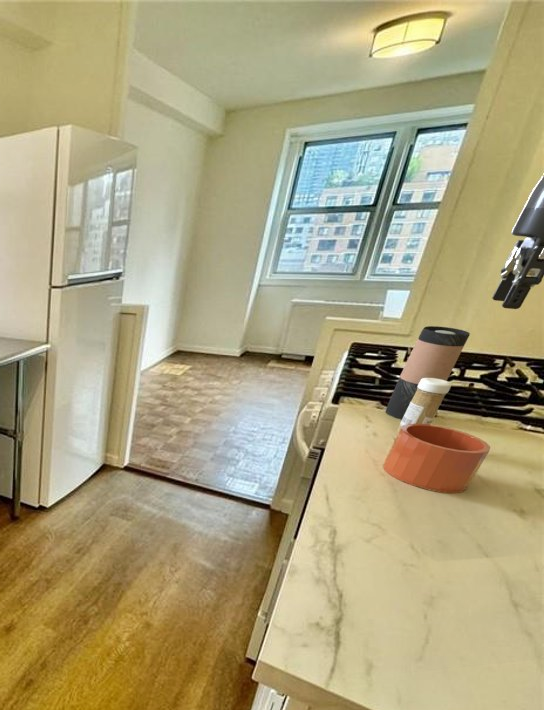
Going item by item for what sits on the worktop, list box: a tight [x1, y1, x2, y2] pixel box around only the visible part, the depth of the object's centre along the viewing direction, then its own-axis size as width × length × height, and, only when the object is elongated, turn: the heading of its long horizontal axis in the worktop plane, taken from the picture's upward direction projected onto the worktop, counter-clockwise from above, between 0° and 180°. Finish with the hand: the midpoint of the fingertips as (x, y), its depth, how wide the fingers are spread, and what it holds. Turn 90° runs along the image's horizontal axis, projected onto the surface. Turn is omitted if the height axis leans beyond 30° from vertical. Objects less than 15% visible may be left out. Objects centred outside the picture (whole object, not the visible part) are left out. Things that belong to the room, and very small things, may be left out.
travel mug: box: [385, 325, 471, 420], centre depth 108 cm, size 8×8×20 cm
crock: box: [382, 424, 491, 494], centre depth 87 cm, size 12×12×8 cm
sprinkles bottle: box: [393, 378, 452, 441], centre depth 98 cm, size 5×5×13 cm
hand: (504, 304), depth 89 cm, fingers open, 8 cm apart
